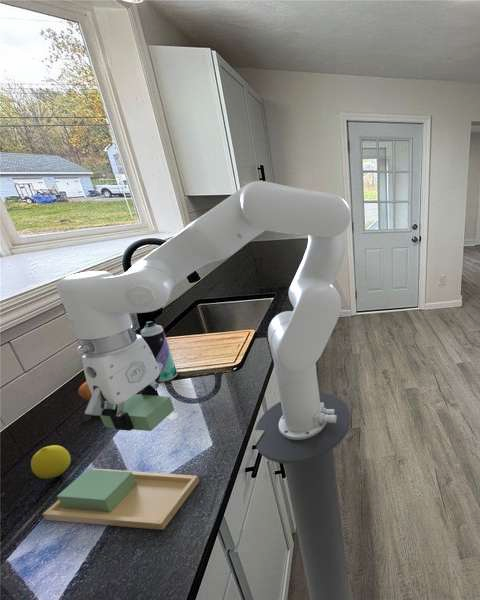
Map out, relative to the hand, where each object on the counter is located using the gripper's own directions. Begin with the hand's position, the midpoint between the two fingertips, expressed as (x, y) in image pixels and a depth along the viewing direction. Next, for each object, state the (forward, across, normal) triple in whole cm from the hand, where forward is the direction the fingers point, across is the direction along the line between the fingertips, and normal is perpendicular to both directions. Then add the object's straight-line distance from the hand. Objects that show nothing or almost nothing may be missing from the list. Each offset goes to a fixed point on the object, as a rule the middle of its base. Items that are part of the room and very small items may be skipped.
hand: (140, 416), depth 64 cm
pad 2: (+1, 0, 0) cm, 1 cm away
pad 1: (+15, -7, +7) cm, 18 cm away
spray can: (+16, +33, +27) cm, 45 cm away
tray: (+16, -7, +2) cm, 17 cm away
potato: (+16, +22, +36) cm, 45 cm away
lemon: (+16, -3, +22) cm, 27 cm away
